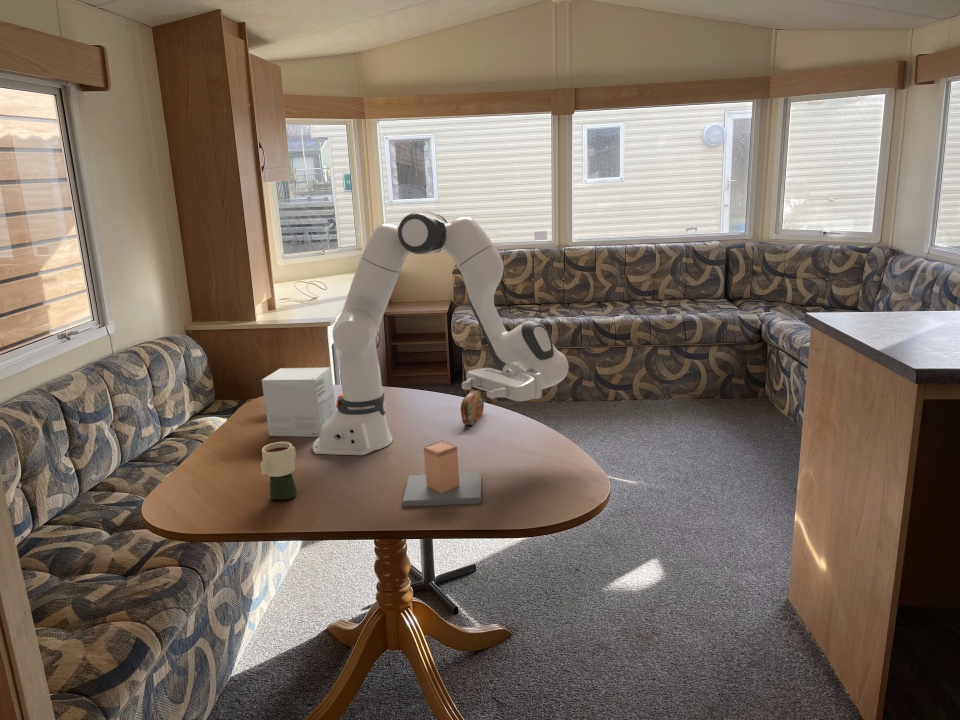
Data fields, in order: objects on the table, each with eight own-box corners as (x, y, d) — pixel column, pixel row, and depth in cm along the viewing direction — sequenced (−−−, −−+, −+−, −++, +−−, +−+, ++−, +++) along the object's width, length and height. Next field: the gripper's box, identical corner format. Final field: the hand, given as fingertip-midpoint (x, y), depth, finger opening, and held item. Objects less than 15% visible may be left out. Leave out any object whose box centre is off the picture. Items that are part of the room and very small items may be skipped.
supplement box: (338, 422, 221) (332, 366, 216) (322, 437, 208) (315, 379, 204) (287, 421, 224) (279, 367, 219) (268, 437, 211) (259, 379, 207)
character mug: (289, 485, 177) (282, 437, 174) (310, 490, 173) (304, 441, 170) (256, 503, 168) (248, 453, 164) (278, 509, 164) (270, 457, 161)
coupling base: (403, 506, 162) (399, 470, 160) (409, 480, 176) (406, 447, 173) (481, 503, 162) (478, 467, 159) (481, 477, 175) (479, 443, 173)
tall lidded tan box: (440, 493, 165) (437, 453, 162) (426, 485, 169) (423, 447, 166) (459, 485, 168) (456, 446, 165) (445, 478, 172) (442, 440, 170)
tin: (470, 429, 208) (468, 402, 206) (460, 428, 209) (458, 401, 207) (485, 412, 222) (483, 386, 220) (475, 411, 223) (474, 386, 221)
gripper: (490, 359, 186) (448, 369, 177) (545, 374, 170) (503, 386, 162) (491, 382, 187) (449, 393, 179) (545, 399, 172) (503, 412, 163)
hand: (475, 390), depth 170 cm, fingers open, 8 cm apart
